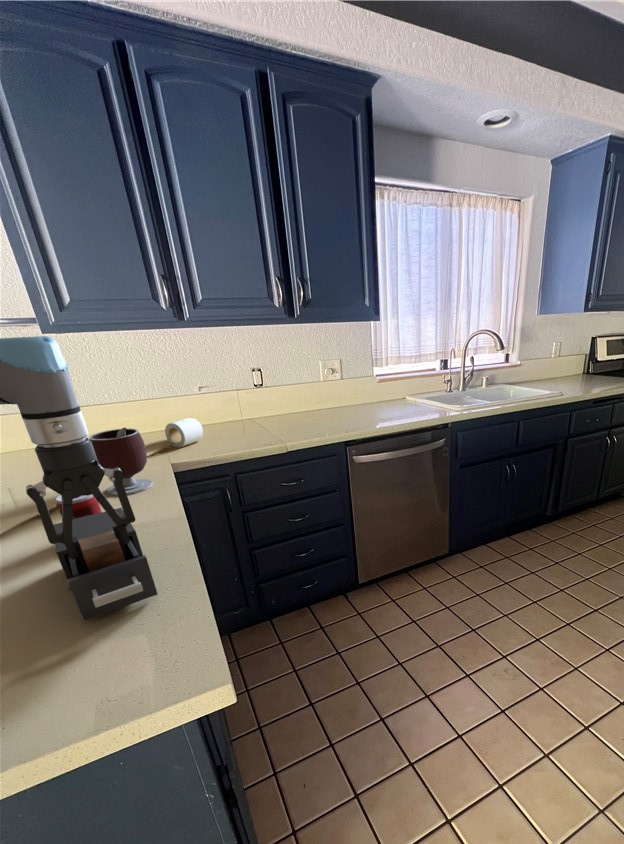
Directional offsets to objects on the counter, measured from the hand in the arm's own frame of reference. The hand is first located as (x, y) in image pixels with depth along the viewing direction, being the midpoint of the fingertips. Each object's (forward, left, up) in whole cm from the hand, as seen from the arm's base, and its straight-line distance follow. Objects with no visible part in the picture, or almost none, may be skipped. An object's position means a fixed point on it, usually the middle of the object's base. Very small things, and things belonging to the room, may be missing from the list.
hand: (107, 565), depth 78 cm
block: (0, 0, 0) cm, 0 cm away
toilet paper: (-39, +104, -7) cm, 111 cm away
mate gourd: (-32, +54, -7) cm, 63 cm away
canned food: (-22, +23, -7) cm, 33 cm away
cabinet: (-8, +9, -7) cm, 14 cm away
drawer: (+1, -1, -6) cm, 6 cm away
